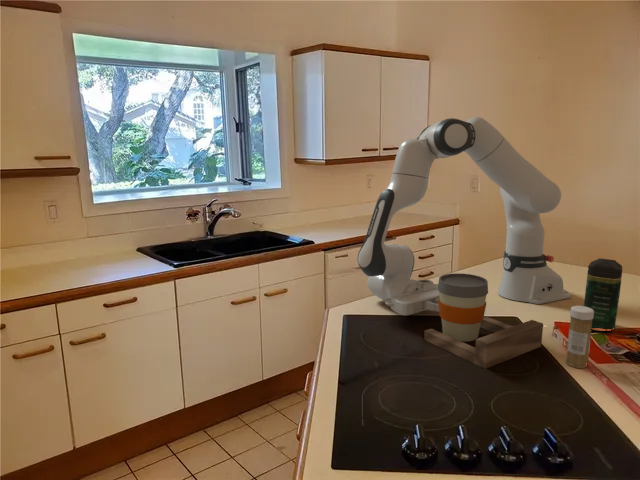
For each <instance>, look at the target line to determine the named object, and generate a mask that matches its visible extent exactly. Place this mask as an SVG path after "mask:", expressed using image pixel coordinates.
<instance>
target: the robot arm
mask: <svg viewBox="0 0 640 480" xmlns="http://www.w3.org/2000/svg"><path fill="white" fill-rule="evenodd" d="M463 152H464V153H466V154H467V155H468V156H469V157H470V159H471V160H472V161H473V162H474V163H475V164H476V165H477V166H478V168H479V169H481V170H482V172H483V173H484V174H485V175H486V177H488V178H489V180H491V181H492V182H493V183H495V184H496V185H498V187H500V189H499V193H500V197H501V199H502V202H503V208H504V215H505V222H506V223H505V224H506V239H505V250H504V252H503V259H502V260H503V261H502V264H503V271H502V276H501V281H500V284H499V287H498V290H497V295H499V296H501V297H503V298H504V299H508V300H513V301H517V302H525V303H526V302H527V303H530V304H536V305H541V304H546V303H547V304H548V303H550V302H556V301H561V300H566V299H570V298H572V294H571V293H570V292H569V291H567V290H566V289H564V280H563V278H562V276H561V275H560V274H558V273H557V272H556V271H554V269H552V268H551V267H549V266H548V264H547V262H549V263H553V262H554V261H555V257H554V256H553V255H550V254H547V255H546V254H544V253H543V252H544V244H545V242H544V241H545V233H546V232H545V228H544V227H545V226H544V225H543V223H542V219H541V216H540V214H545V213H550V212H552V211H554V210H555V209H557V207H558V206H559V204H560V202H561V199H562V192H561V189H560V187H559V186H558V184H556V183H555V182H553V181H552V180H551V179H549V178H548V177H547V176H546V175H545V174H543V172H541V171H540V170H539V169H538V168H537V167H536V166H534V165H533V164H532V163H530V162H529V161H528V160H527V159H526V158H524V157H523V156H522V155H521V154H520V152H518V151H517V150H516V149H515V148H514V146H513V145H512V144H511V143H510V142H509V141H508V140H507V138H506V137H504V135H503V134H502V133H501V132H500V131H499V130H498V129H497V128H496V127H495V126H493V124H491V123H490V122H488V121H487V119H486V120H485V119H484V118H483V117H480V116H473V117H470V118H468V119H467V120H462V119H459V118H453V117H452V118H446V119H442V120H438V121H436V122H433V123H432V124H430V125H428V126H427V127H425V128H424V129H423V130H422V131H421V132H420V134H419V135H418V136H417V138H409V139H407V140H405V141H402V142H401V144H400V145H399V148H398V150H397V153H396V156H395V159H394V163H393V166H392V171H391V172H392V173H391V177H390V181H389V183H388V185H387V187H386V188H385V190H383V191H382V192H381V193H380V195H379V196H378V198H377V201H376V204H375V206H374V210H373V213H372V215H371V220H370V222H369V225H368V228H367V231H366V234H365V237H364V240H363V243H362V245H361V247H360V249H359V251H358V254H357V263H358V266H359V268H360V270H361V271H362V272H363V274H364V275H366V276H367V277H368V278H367V286H368V287H367V288H368V289H369V291H370V292H371V293H372V294H373V295H374V296H376V297H377V298H378V299H381V300H382V301H384V303H385V305H387V306H389V307H390V309H391V310H392V311H394V312H395V313H397V314H399V315H401V316H409V315H413V314H417V313H421V312H425V311H434V312H438V313H439V304H438V298H439V291H438V283H434V281H433V280H430V279H423V280H422V279H419V280H417V279H413V278H412V279H411V277H412V275H413V271H414V267H415V261H416V260H415V255H414V253H413V251H412V250H411V248H410V247H409V246H407V245H406V244H405V245H403V244H393V243H392V244H391V243H385V241H386V238H387V235H388V231H389V229H390V228H389V227H390V225H391V221H392V219H393V217H394V215H395V214H396V213H397V212H399V211H400V210H403V209H405V208H409V207H413V205H416V204H417V203H419V202H420V201H421V200H422V199H423V198H424V197H425V195H426V192H427V189H428V184H429V178H430V170H431V168H432V165H433V162H434V161H435V160H436V159H446V158H450V157H452V156H457V155H459V154H461V153H463Z"/></svg>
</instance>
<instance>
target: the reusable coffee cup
mask: <svg viewBox="0 0 640 480" xmlns="http://www.w3.org/2000/svg"><path fill="white" fill-rule="evenodd" d="M438 278H439V279H438V283H437V284H438V291H439V298H438V304H439V312H438V313H439V317H440V318H441V319H440V320H441V330H442V333H443V334H445V335H447V336H450V337H452V338H454V339H456V340H459V341H461V342H463V343H465V342H472V341H476V339H478V338H479V333H480V328H481V327H480V324H481V321H483V318H484V316H485V312H486V308H487V301H486V298H487V295H488V293H489V287H488V286H489V282H488V280H487V279H486V278H484V277H482V276H480V275H476V274H470V273H459V272H458V273H447V274H443V275H440V277H438Z"/></svg>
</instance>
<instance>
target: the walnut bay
mask: <svg viewBox="0 0 640 480" xmlns="http://www.w3.org/2000/svg"><path fill="white" fill-rule="evenodd" d="M480 328H481V329H484V330H486V331H489V332H492V333H490V334H487V335H484V336H481V337H478V338H477V339H476V340H475V346H472V345H470V344H468V343H465V342H464V341H459V340H456V339H454V338H452V337H450V336H447V335H445V334H443V332H441V331H438V330H435V329H434V328H429V329H426V330H424V334H423V335H424V338H423V339H424V341H426V342H428V343H430V344H432V345H435V346H436V347H439V348H441V349H443V350H444V351H448V352H449V353H451V354H453V355H456V356H457V357H459V358H461V359H464V360H466V361H468V362H470V363H472V364H474V365H476V366H479V367H480V368H482V369H485V370H486V369H489V368H492V367H494V366H496V365H498V364H501V363H504V362H506V361H509V360H511V359H514V358H517V357H519V356H521V355H523V354H526V353H528V352H531V351H533V350H536V349H539V348H541V347H542V342H543V333H544V332H543V330H544V323H543V322H540V321H536V320H534V319H531V320H528V321H525V322H522V323H519V324H516V325H510V324H509V323H504V322H502V321H499V320H497V319H493V318H491V317H488V316H485V315H484V318H483V321H481V324H480Z"/></svg>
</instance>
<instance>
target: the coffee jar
mask: <svg viewBox="0 0 640 480" xmlns="http://www.w3.org/2000/svg"><path fill="white" fill-rule="evenodd" d="M587 268H588V269H587V273H586V283H585V291H584V292H585V293H584V300H583V306H585V307H589V308H591V309H593V310H594V318H593V320H592V328H603V329H613V328H614V329H615V328H616V322H617V315H618V307H619V302H620V295H621V294H620V293H621V286H622V275H623V266H622V264H621V263H619V262H617V260H616V259H615V260H614V259H608V258H599V257H598V259H594V260H592V261H591V262H589V264H588V266H587Z"/></svg>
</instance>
